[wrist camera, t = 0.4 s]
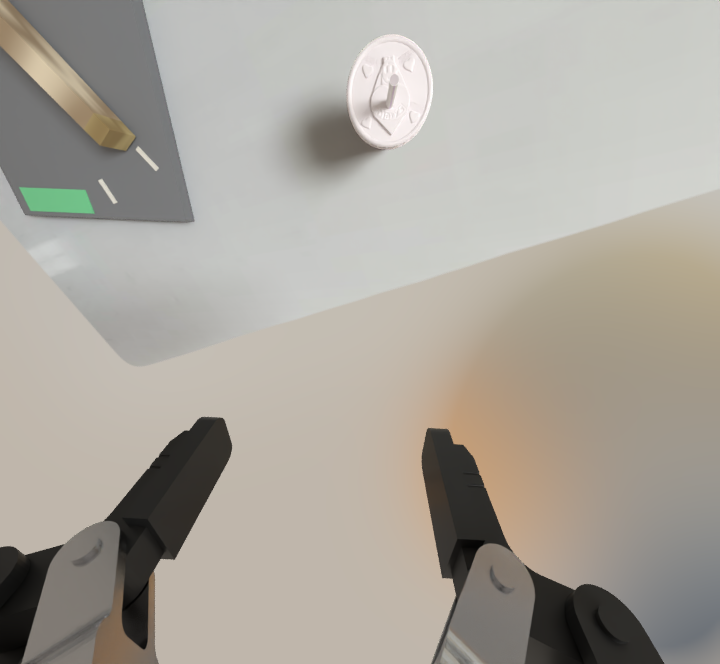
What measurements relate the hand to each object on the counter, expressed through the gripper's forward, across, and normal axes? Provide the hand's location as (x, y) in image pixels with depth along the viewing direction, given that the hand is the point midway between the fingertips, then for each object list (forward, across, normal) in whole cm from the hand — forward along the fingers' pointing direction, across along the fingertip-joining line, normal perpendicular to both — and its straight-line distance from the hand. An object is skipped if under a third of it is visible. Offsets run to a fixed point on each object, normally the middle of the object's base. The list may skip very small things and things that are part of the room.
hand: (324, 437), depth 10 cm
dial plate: (+27, +30, -18) cm, 45 cm away
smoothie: (+28, -2, -15) cm, 31 cm away
